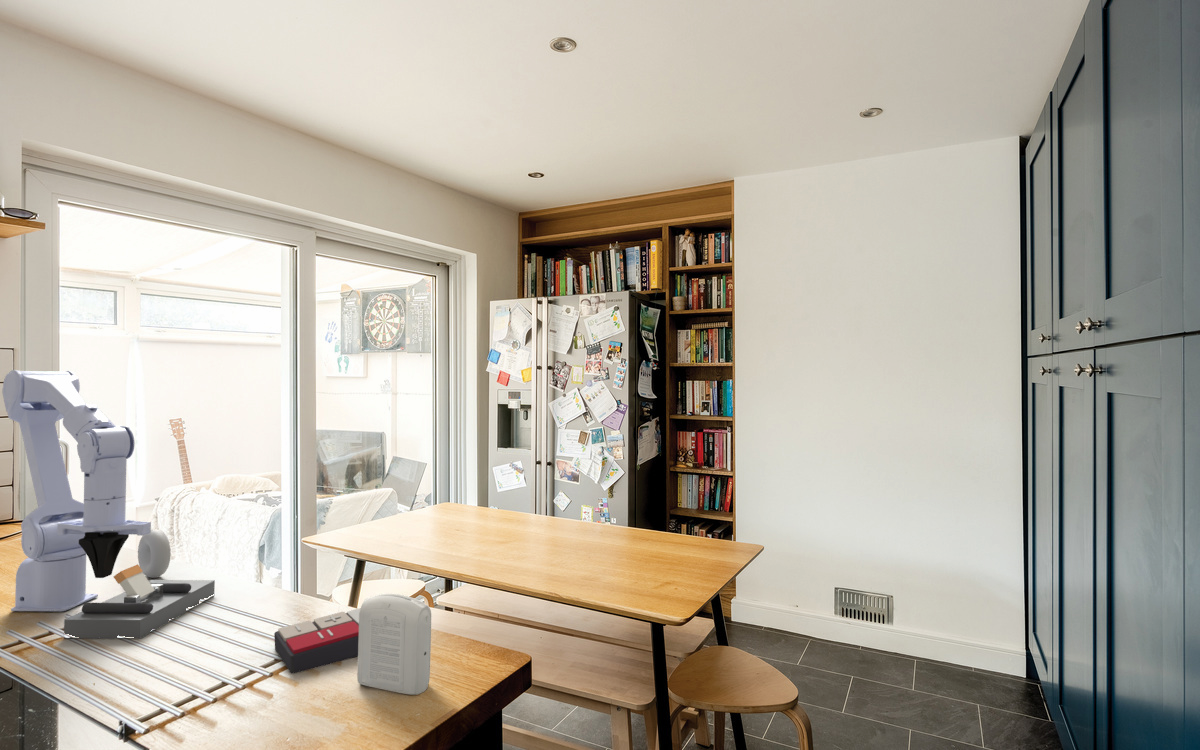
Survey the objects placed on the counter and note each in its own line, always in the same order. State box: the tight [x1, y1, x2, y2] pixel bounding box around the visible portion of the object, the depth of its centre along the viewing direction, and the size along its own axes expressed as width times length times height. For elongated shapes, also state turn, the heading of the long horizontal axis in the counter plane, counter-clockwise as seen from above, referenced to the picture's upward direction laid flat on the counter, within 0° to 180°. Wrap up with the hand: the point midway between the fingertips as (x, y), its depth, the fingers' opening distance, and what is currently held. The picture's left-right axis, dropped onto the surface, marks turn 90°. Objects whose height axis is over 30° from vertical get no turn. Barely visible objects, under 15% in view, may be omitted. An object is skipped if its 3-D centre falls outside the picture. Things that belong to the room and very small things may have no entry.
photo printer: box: [356, 593, 432, 696], centre depth 86 cm, size 10×4×12 cm, turn 72°
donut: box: [137, 528, 172, 579], centre depth 131 cm, size 10×4×10 cm, turn 55°
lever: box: [113, 563, 155, 602], centre depth 108 cm, size 2×4×6 cm
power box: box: [63, 579, 216, 640], centre depth 110 cm, size 12×20×5 cm, turn 1°
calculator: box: [273, 607, 361, 675], centre depth 98 cm, size 11×4×15 cm
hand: (103, 576), depth 108 cm, fingers closed
